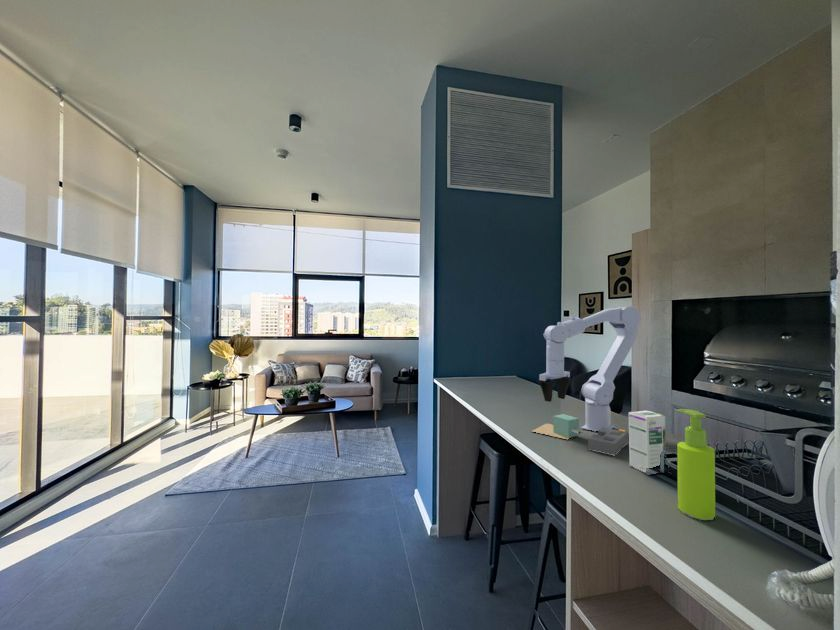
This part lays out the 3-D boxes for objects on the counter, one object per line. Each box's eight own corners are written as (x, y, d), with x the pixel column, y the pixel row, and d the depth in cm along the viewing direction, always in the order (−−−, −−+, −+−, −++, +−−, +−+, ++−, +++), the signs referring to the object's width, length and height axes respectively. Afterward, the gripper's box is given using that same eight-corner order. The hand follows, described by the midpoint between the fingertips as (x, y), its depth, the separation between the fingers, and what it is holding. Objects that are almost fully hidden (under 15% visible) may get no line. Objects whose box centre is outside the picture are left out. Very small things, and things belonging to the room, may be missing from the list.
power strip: (602, 438, 114) (602, 425, 114) (627, 443, 109) (627, 430, 109) (588, 450, 104) (588, 436, 104) (614, 456, 99) (614, 442, 99)
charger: (563, 430, 121) (563, 414, 121) (585, 437, 114) (585, 420, 114) (553, 432, 119) (553, 415, 119) (575, 440, 111) (574, 422, 111)
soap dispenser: (694, 502, 75) (693, 406, 75) (723, 521, 68) (722, 415, 68) (666, 502, 74) (666, 407, 75) (693, 521, 67) (692, 416, 68)
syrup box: (648, 476, 87) (648, 416, 87) (628, 466, 92) (628, 410, 92) (666, 473, 88) (666, 415, 88) (645, 464, 94) (645, 409, 94)
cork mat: (546, 424, 129) (546, 423, 129) (580, 431, 121) (580, 430, 121) (531, 432, 120) (531, 431, 120) (567, 440, 112) (567, 439, 112)
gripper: (552, 362, 115) (552, 404, 115) (577, 360, 123) (577, 399, 123) (534, 360, 121) (533, 400, 121) (559, 358, 129) (559, 395, 129)
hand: (554, 399), depth 122 cm, fingers open, 7 cm apart
